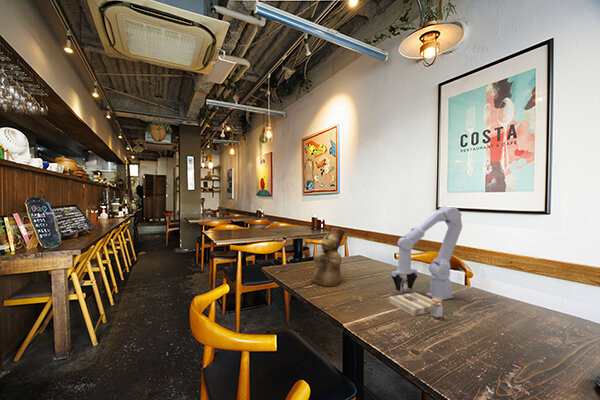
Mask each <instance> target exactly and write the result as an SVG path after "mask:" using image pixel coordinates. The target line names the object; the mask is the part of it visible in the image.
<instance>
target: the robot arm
mask: <svg viewBox="0 0 600 400" xmlns="http://www.w3.org/2000/svg"><path fill="white" fill-rule="evenodd" d="M462 215H463V214H462V212H461V211H460V210H459V209H458V208H457V207H454V206H451V207H450V206H441V207H439V208H438V209H437V210H435V211H434V212H433V214H432V215H430V217H428V218H427V219H425V221H424V222H423V223H422V224H420V225H419V226H415V227H412V228H410V231H409V232H407V233H406V234H404V235H403V237H400V238H399V239H398V241H397V243H396V244H397V246H398V262H397V263H398V267H397V269H396V270H393V271H391V276H390V277H391V278H392V280H393V283H394V287H395V290H396V291H398V292H401V282H402V279H403V277H401V276H406V280H408V289H409V290H412V289H413V286H414V284H415V281H416V280H417V278H418V275H417V273H418V270H417V269H415V268H412V265H411V264H412V249H413V248H414V245H415V244H416V243H418V242H419V241H420V240H421V239H423V237H424V236H425V234H426V233H425V232H427V231H428V230H429V229H430V228H432V227H433V226H434V225H436V224H437V223H438V222H439V223H440V222H444V223H445V224H446V225H447V231H446V233H445V235H444V237H443V240H442V243H441V246H440V248H439V251H438V254H437V256H436V257H435V258H433V261H432V262H431V263H430V264H429V266H428V271H429V273H430V283H429V284H430V285H429V286H430V287H429V288H430V289H429V290H430V291H429V292H426V293H425V295H426V296H429V297H431V298H433V297H436V298H440V299H441V300H442V301H443V300H448V299H453V298H454V296H453V283H452V280H451V279H450V276H451V270H450V269H451V262H450V261H451V258H452V255H453V253H454V251H455V247H456V245H457V242H458V240H459V237H460V234H461V232H462V228H463V224H462Z"/></svg>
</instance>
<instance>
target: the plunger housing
mask: <svg viewBox="0 0 600 400" xmlns="http://www.w3.org/2000/svg"><path fill="white" fill-rule="evenodd" d="M429 314H430V315H431V316H433V317H435V318H440V317H443V305H442V306H441V305H439V304H438V307H436V306H435V304H431V311H430V313H429Z"/></svg>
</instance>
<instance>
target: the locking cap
mask: <svg viewBox="0 0 600 400" xmlns="http://www.w3.org/2000/svg"><path fill="white" fill-rule="evenodd" d="M431 300H432V301H433V302H435V306H436V307H438V303H440V304H442V303H443V300H441V299H440V298H436V297H431Z"/></svg>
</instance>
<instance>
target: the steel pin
mask: <svg viewBox="0 0 600 400" xmlns="http://www.w3.org/2000/svg"><path fill="white" fill-rule="evenodd" d="M408 290H409V288H408V280H407V279H402V282H401V289H400V295H403V294H409V293H408Z"/></svg>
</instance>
